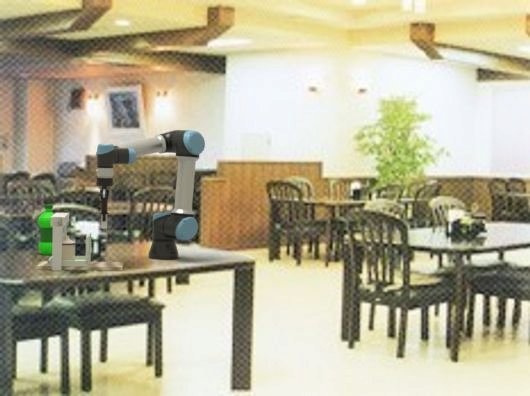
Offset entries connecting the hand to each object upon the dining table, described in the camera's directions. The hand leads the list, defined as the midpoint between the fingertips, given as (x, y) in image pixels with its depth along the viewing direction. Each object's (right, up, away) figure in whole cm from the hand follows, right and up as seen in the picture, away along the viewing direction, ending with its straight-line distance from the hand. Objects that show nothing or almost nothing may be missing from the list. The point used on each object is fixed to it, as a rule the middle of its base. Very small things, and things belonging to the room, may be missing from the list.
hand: (104, 228), depth 434 cm
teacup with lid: (-19, -15, -1) cm, 24 cm away
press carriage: (-16, -16, -1) cm, 23 cm away
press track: (-10, -18, 0) cm, 21 cm away
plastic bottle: (-35, -15, +41) cm, 56 cm away
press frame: (-20, -18, -1) cm, 27 cm away
